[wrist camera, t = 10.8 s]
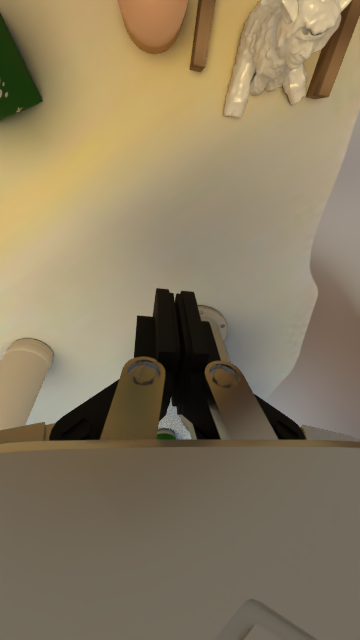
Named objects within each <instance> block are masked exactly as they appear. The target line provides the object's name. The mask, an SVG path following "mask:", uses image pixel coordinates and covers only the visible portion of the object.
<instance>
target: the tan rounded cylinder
mask: <svg viewBox="0 0 360 640" xmlns="http://www.w3.org/2000/svg"><path fill="white" fill-rule="evenodd" d="M118 2H119V6H120V10H121V14H122V17H123V21H124V24H125V27H126V30H127V32H128V34H129V36H130V38H131V39H132V41H133V42H134V43H135V44H136V45H137V46H138V47H139V48H140V49H141V50H143V51H145V52H147V53H150V54H159V53H162V52H164V51H166V50H167V49H169V48H170V47H171V46H172V45H173V43H174V42H175V40H176V38H177V36H178V34H179V31H180V28H181V25H182V22H183V18H184V15H185V11H186V8H187V4H188V0H118Z"/></svg>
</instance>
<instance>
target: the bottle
mask: <svg viewBox="0 0 360 640" xmlns="http://www.w3.org/2000/svg"><path fill="white" fill-rule="evenodd" d="M52 360H53V353H52V351H51V349H50V348H49V347H48V346H47V345H46V344H44V343H42V342H40V341H38V340H34V339H20V340H16V341H15V342H14V343H12V344H11V346H10V347H9V348H8V350H7V351H6V353H5V354H4V356H3V358H2V360H1V362H0V430H4V429H10V428H15V427H20V426H25V424H26V422H27V419H28V417H29V415H30V412H31V410H32V408H33V405H34V403H35V400H36V398H37V396H38V393H39V391H40V389H41V386H42V384H43V381H44V379H45V377H46V374H47V372H48V370H49V369H50V366H51V362H52Z"/></svg>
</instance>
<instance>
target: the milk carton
mask: <svg viewBox="0 0 360 640" xmlns="http://www.w3.org/2000/svg"><path fill="white" fill-rule="evenodd" d="M41 101H42V98H41V96H40V94H39V92H38V90H37V88H36V86H35V84H34V82H33V80H32V78H31V76H30V74H29V72H28V70H27V68H26V66H25V64H24V62H23V60H22V58H21V56H20V54H19V51H18V49H17V47H16V45H15V43H14V41H13V39H12V37H11V35H10V33H9V31H8V29H7V27H6V25H5V23H4V21H3V19H2V17H1V15H0V121H1V120H4V119H6V118H8V117H10V116H13V115H15V114H17V113H19V112H21V111H23V110H25V109H27V108H29V107H31V106H33V105H35V104H37V103H39V102H41Z"/></svg>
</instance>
